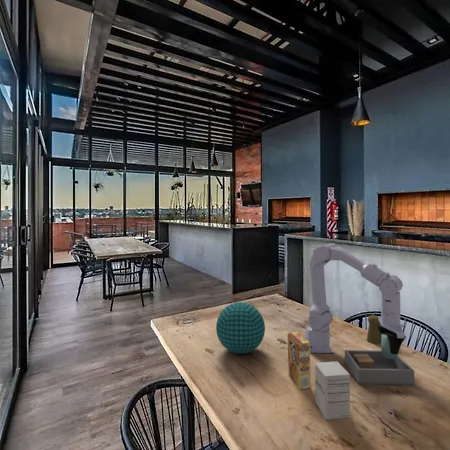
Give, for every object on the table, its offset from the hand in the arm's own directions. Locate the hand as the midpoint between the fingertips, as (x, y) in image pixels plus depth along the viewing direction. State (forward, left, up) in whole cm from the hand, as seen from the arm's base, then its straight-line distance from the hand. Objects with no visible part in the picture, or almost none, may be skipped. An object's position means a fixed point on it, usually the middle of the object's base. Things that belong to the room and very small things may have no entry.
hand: (390, 349), depth 102 cm
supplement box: (-26, -20, -9) cm, 34 cm away
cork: (+5, +26, -9) cm, 28 cm away
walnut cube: (-9, 0, -8) cm, 12 cm away
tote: (-5, 0, -9) cm, 10 cm away
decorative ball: (-53, +15, -9) cm, 55 cm away
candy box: (-33, -6, -9) cm, 34 cm away
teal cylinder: (0, 0, -2) cm, 2 cm away
